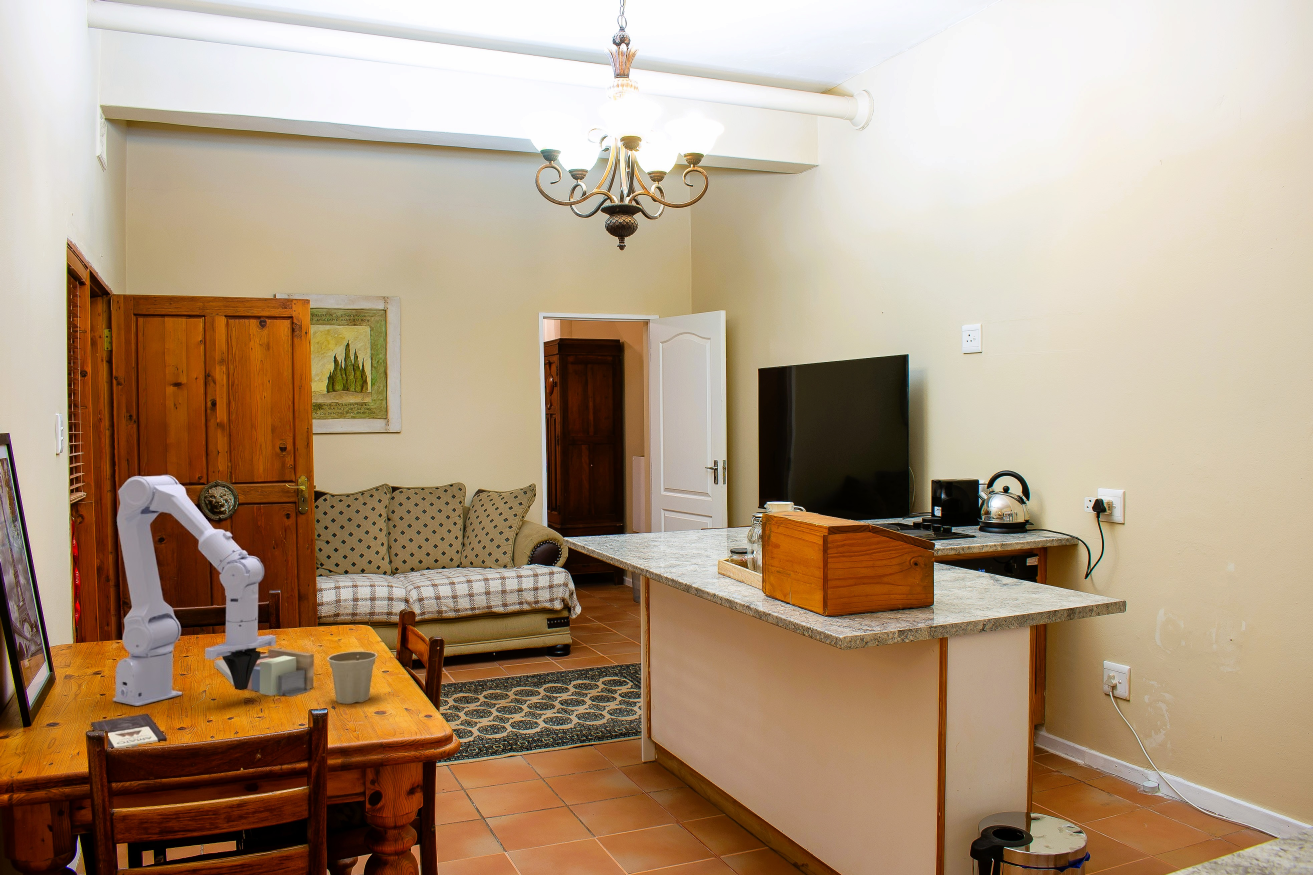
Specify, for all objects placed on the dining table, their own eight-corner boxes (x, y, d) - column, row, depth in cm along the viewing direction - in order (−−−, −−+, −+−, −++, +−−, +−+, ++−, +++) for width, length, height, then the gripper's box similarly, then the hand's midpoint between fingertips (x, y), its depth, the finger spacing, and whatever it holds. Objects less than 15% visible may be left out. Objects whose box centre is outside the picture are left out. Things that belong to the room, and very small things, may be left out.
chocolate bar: (147, 713, 168) (166, 737, 154) (147, 718, 168) (166, 743, 154) (90, 722, 163) (105, 748, 148) (90, 727, 163) (105, 754, 148)
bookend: (288, 697, 181) (288, 676, 181) (278, 695, 183) (278, 675, 183) (312, 690, 187) (312, 670, 187) (302, 688, 188) (302, 668, 188)
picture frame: (311, 678, 199) (287, 660, 216) (311, 665, 199) (287, 648, 216) (233, 689, 190) (214, 669, 206) (234, 675, 190) (214, 657, 206)
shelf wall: (307, 689, 187) (307, 655, 187) (267, 681, 193) (268, 648, 193) (313, 687, 189) (313, 653, 189) (273, 680, 194) (274, 647, 194)
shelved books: (259, 691, 185) (259, 666, 185) (243, 688, 188) (243, 663, 188) (284, 684, 191) (284, 660, 191) (267, 681, 193) (268, 657, 193)
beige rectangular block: (271, 695, 182) (271, 663, 182) (259, 693, 184) (260, 661, 184) (295, 688, 188) (296, 657, 188) (284, 686, 189) (284, 655, 189)
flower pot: (323, 707, 174) (323, 662, 174) (330, 694, 183) (331, 651, 183) (374, 705, 176) (374, 660, 176) (379, 692, 185) (379, 650, 185)
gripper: (222, 627, 170) (221, 700, 170) (286, 615, 183) (285, 683, 183) (198, 624, 173) (197, 695, 173) (262, 612, 186) (261, 678, 186)
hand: (241, 688), depth 178 cm, fingers closed
